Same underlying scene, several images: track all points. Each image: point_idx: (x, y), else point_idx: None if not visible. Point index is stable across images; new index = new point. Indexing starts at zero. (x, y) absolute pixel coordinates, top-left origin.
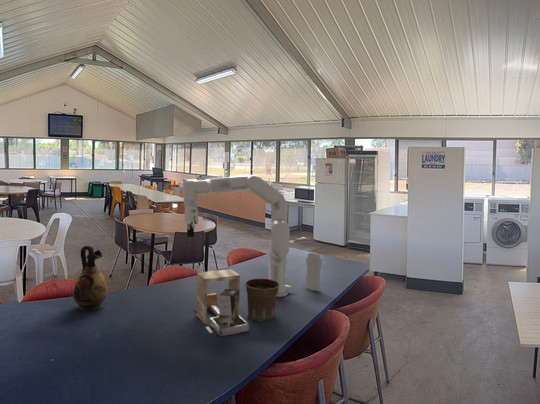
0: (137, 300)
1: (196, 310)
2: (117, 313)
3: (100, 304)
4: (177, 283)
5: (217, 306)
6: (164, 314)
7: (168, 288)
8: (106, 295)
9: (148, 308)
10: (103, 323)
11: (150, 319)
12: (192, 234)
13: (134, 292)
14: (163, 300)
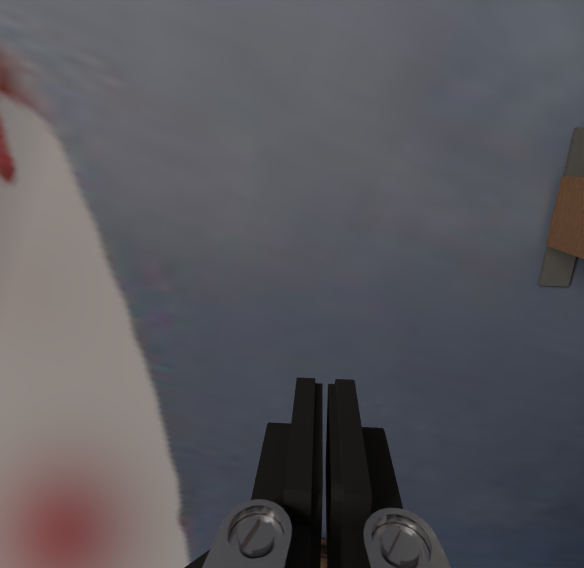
0: None
1: (558, 279)
2: (407, 509)
3: (321, 544)
4: (147, 242)
5: (575, 173)
6: (508, 393)
7: (209, 300)
8: (323, 560)
9: (415, 424)
10: (468, 551)
11: (524, 442)
12: (383, 437)
13: (213, 427)
14: (356, 358)
